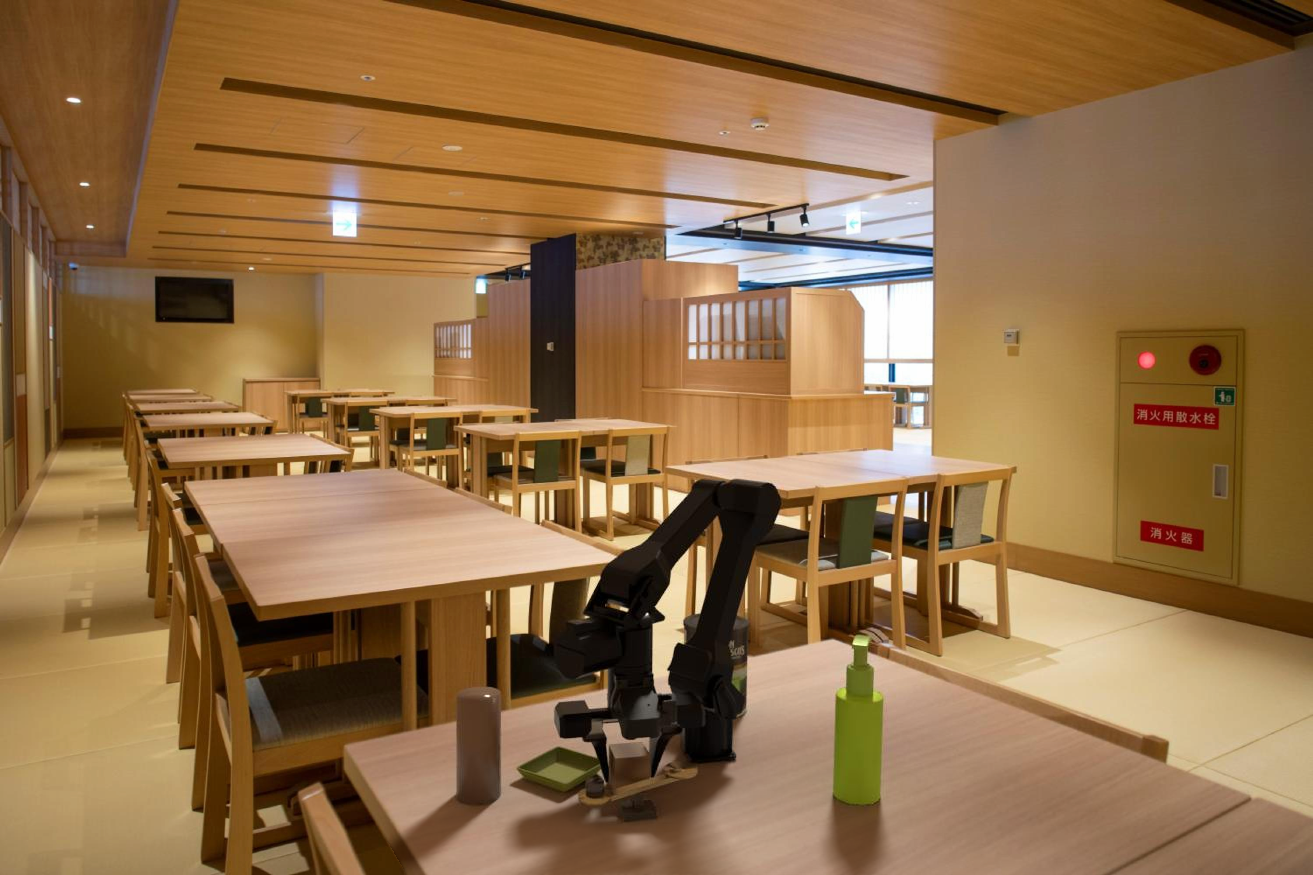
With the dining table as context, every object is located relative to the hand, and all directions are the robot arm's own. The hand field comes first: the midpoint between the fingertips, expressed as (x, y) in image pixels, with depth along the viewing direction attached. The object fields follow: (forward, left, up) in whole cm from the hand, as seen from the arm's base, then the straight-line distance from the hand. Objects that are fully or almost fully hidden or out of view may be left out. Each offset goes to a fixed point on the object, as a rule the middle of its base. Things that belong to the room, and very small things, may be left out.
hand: (629, 778), depth 122 cm
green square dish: (+8, -5, -2) cm, 10 cm away
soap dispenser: (-28, +8, -1) cm, 29 cm away
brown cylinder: (+19, -2, -1) cm, 19 cm away
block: (0, 0, -1) cm, 1 cm away
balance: (+1, +7, -1) cm, 8 cm away
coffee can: (-19, -24, -1) cm, 31 cm away
